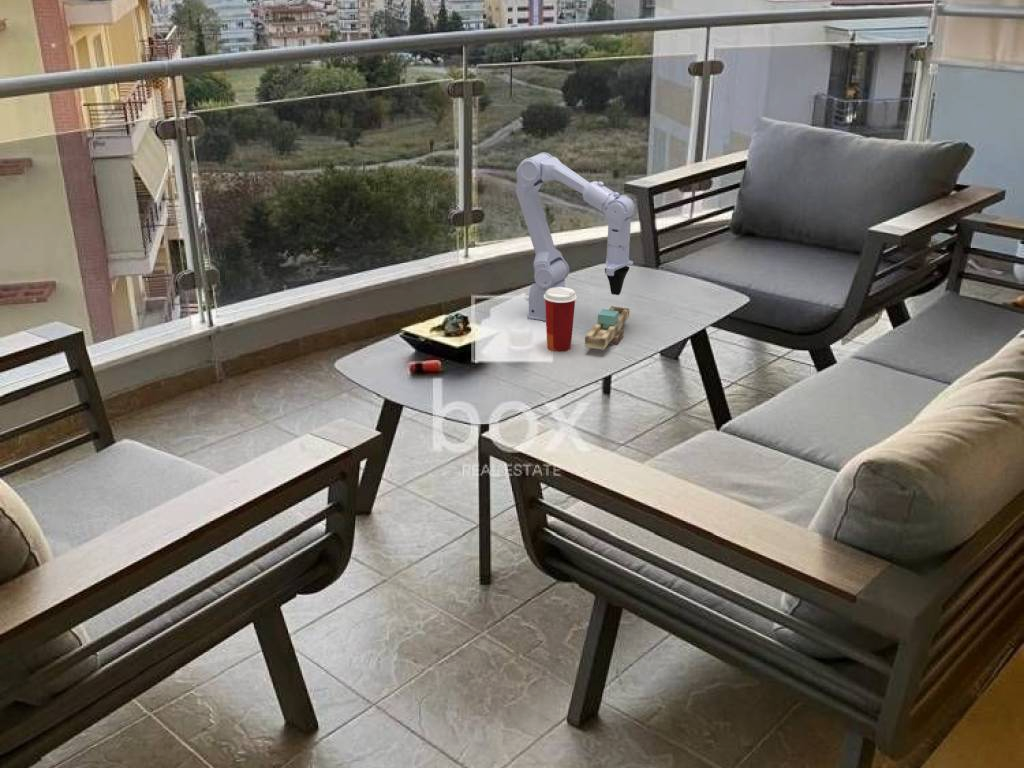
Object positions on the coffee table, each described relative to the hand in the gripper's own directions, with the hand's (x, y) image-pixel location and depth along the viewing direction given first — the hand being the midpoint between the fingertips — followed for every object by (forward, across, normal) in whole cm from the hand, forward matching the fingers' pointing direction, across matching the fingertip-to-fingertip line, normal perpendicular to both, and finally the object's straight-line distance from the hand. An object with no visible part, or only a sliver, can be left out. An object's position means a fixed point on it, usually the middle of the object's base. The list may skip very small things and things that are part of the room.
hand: (615, 293), depth 266 cm
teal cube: (+6, -8, 0) cm, 10 cm away
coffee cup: (+10, -18, +10) cm, 22 cm away
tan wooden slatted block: (+10, -8, 0) cm, 12 cm away
